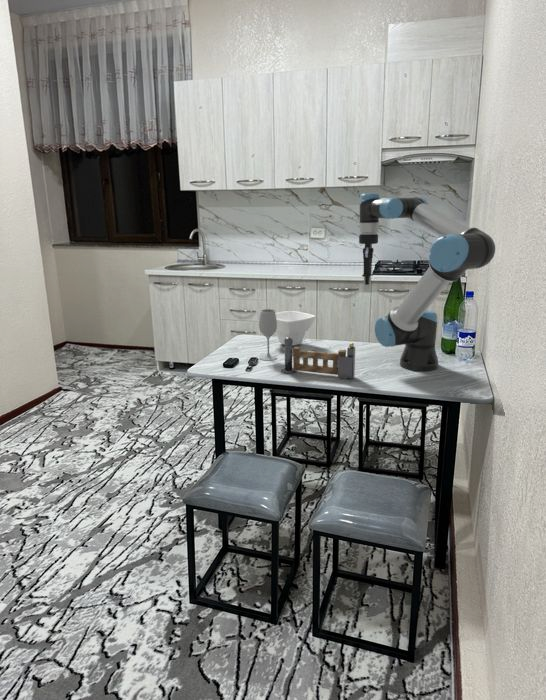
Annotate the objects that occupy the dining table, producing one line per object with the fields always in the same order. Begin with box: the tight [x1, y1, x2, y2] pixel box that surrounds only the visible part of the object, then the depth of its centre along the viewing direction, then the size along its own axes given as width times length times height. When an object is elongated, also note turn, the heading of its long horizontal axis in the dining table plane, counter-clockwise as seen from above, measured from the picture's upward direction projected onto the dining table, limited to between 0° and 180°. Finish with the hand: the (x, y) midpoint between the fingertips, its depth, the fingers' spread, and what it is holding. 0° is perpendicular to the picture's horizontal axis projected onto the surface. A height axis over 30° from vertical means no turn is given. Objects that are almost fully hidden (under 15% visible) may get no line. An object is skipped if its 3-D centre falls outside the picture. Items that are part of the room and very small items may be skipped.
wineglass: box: [258, 308, 278, 362], centre depth 223 cm, size 8×8×21 cm
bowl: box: [275, 310, 317, 347], centre depth 244 cm, size 19×19×14 cm
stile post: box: [337, 342, 356, 380], centre depth 198 cm, size 5×5×14 cm
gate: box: [292, 346, 347, 376], centre depth 202 cm, size 20×2×10 cm, turn 69°
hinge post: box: [280, 337, 297, 375], centre depth 206 cm, size 6×6×14 cm
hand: (367, 292), depth 215 cm, fingers closed
